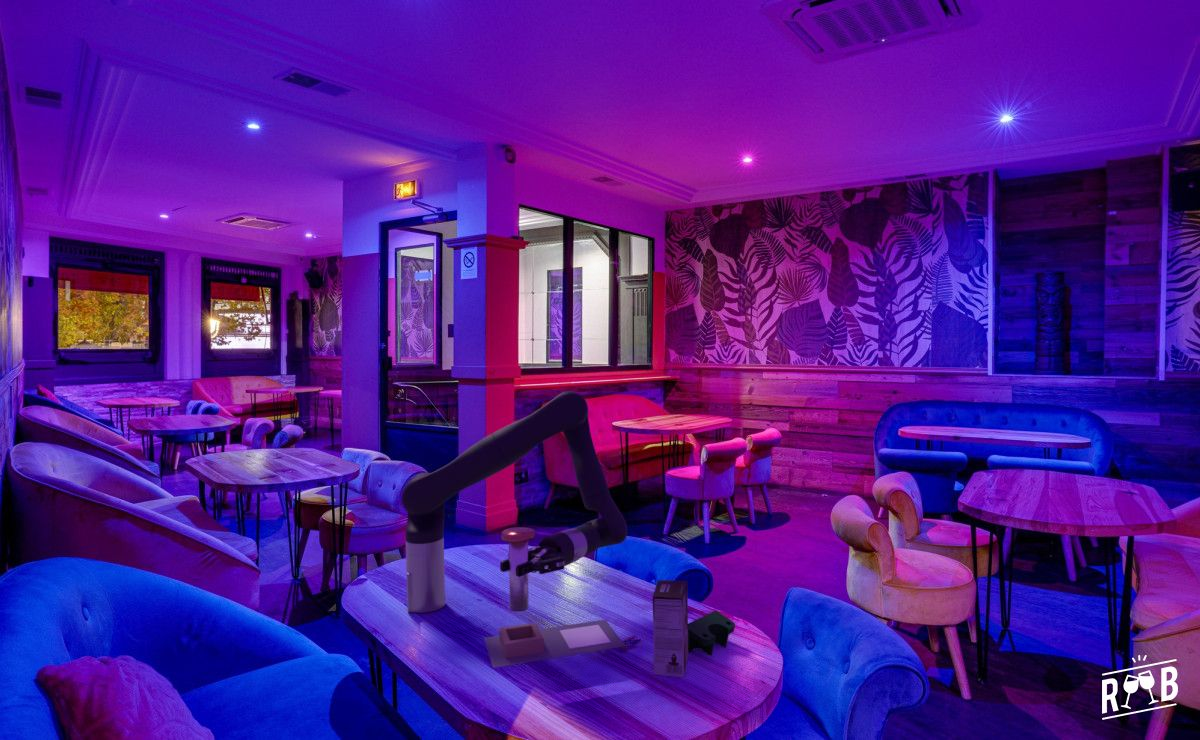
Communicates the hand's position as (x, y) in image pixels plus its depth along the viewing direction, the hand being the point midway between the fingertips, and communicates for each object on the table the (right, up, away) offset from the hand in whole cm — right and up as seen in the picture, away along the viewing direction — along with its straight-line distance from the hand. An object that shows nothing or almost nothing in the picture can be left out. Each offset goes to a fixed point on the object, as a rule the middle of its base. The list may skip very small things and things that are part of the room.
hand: (509, 569), depth 136 cm
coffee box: (+33, -19, -3) cm, 38 cm away
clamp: (+42, -18, +5) cm, 46 cm away
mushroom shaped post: (+2, -9, +3) cm, 9 cm away
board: (+9, -19, +5) cm, 21 cm away
